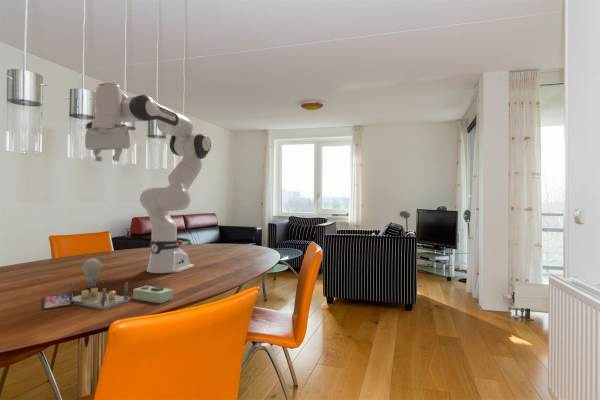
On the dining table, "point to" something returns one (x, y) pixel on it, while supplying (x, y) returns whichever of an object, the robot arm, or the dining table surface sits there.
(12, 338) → the dining table surface
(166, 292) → the green block with holes
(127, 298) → the chassis
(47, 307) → the smartphone
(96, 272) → the lightbulb
